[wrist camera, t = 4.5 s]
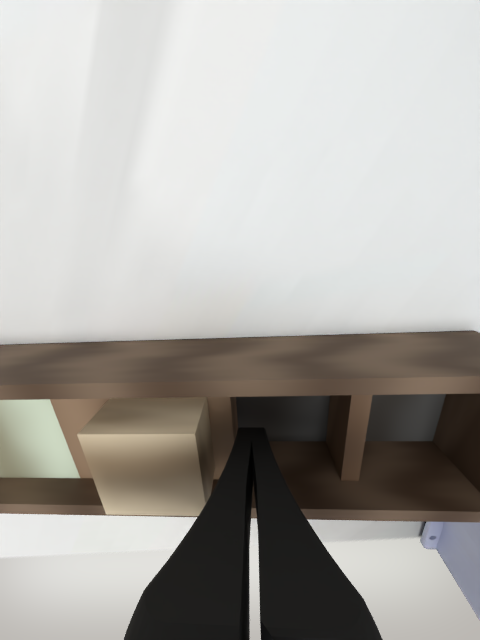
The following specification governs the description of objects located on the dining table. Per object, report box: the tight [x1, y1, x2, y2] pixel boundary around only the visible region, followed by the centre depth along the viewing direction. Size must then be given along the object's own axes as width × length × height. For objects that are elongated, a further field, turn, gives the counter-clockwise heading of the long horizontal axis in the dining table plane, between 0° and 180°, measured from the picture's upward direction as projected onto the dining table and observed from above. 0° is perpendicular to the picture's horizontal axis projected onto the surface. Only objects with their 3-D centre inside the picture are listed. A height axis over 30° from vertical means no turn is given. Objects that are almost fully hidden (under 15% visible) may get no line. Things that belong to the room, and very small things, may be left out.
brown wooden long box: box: [0, 331, 480, 523], centre depth 13 cm, size 32×9×4 cm, turn 93°
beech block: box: [77, 397, 215, 516], centre depth 11 cm, size 5×5×2 cm
